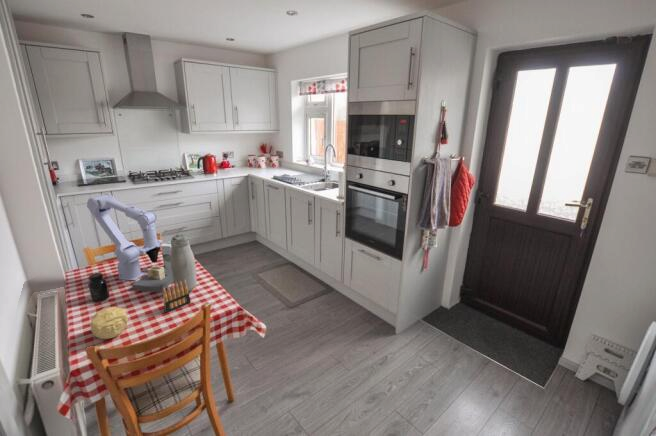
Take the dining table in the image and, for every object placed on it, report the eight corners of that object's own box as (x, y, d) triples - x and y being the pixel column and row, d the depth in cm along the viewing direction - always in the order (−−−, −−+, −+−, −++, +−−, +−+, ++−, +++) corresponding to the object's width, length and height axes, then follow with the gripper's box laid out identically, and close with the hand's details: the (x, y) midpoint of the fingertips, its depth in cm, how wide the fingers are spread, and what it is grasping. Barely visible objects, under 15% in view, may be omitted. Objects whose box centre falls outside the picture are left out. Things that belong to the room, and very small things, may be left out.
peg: (149, 282, 160) (147, 269, 158) (154, 278, 164) (152, 265, 161) (160, 283, 159) (158, 270, 157) (165, 279, 163) (163, 266, 161)
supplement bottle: (113, 296, 148) (108, 272, 145) (99, 304, 142) (93, 280, 138) (102, 293, 150) (97, 270, 147) (88, 301, 144) (82, 277, 141)
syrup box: (180, 265, 178) (176, 241, 174) (174, 270, 173) (170, 245, 168) (170, 265, 179) (166, 241, 174) (164, 270, 173) (160, 245, 169)
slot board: (133, 289, 154) (132, 284, 153) (156, 272, 171) (156, 267, 170) (160, 292, 152) (159, 287, 151) (181, 274, 169) (180, 269, 168)
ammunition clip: (166, 313, 136) (162, 288, 133) (164, 311, 138) (160, 286, 134) (190, 303, 144) (187, 279, 140) (188, 301, 145) (185, 277, 141)
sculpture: (99, 348, 116) (92, 323, 113) (89, 333, 123) (83, 309, 120) (133, 333, 124) (128, 309, 121) (123, 320, 132) (118, 297, 128)
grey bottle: (201, 289, 155) (195, 235, 146) (180, 297, 148) (172, 241, 139) (192, 282, 161) (185, 229, 153) (171, 290, 154) (163, 235, 145)
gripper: (147, 242, 149) (152, 269, 153) (166, 231, 163) (170, 256, 167) (133, 241, 150) (138, 268, 154) (153, 230, 163) (157, 255, 168)
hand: (154, 261), depth 160 cm, fingers closed
